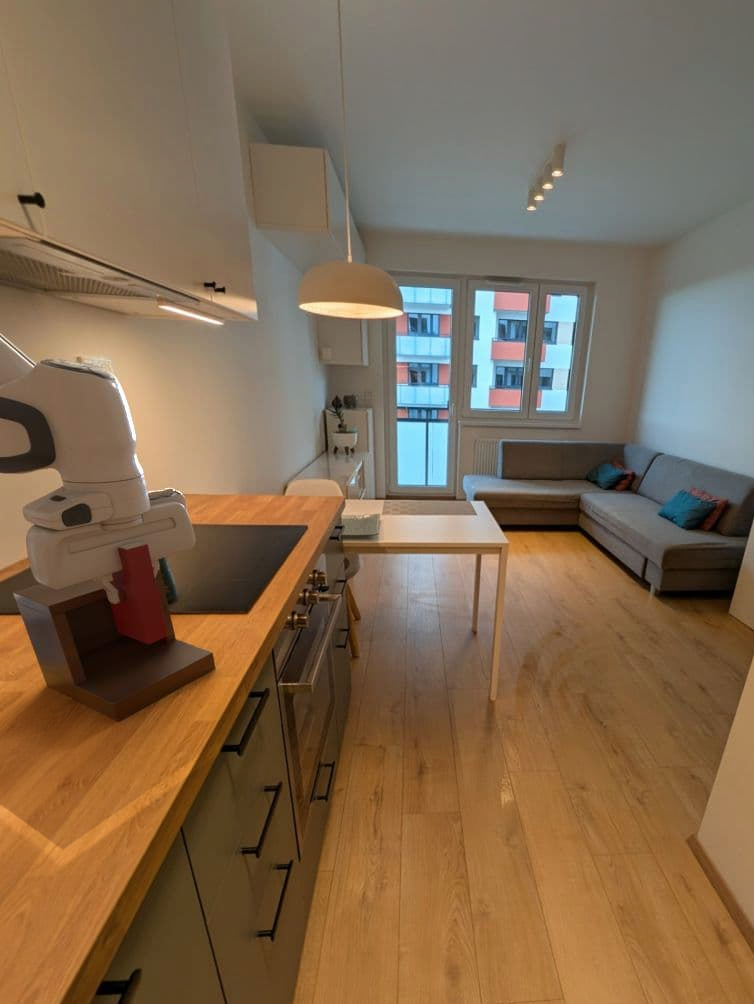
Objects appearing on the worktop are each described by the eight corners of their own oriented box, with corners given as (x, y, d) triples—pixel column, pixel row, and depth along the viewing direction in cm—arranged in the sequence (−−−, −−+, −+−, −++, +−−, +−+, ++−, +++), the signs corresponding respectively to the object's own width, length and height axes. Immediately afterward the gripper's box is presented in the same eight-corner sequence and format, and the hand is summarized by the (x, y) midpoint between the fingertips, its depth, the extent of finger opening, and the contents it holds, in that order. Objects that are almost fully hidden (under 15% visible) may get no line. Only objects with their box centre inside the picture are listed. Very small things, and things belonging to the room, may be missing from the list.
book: (117, 632, 74) (93, 539, 68) (137, 624, 77) (115, 534, 71) (148, 644, 71) (125, 549, 65) (168, 636, 74) (147, 543, 68)
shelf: (46, 685, 78) (12, 592, 71) (146, 641, 90) (125, 559, 84) (118, 722, 70) (88, 621, 64) (215, 668, 83) (198, 580, 77)
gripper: (167, 482, 75) (184, 569, 81) (5, 511, 59) (40, 617, 65) (196, 488, 73) (211, 577, 79) (35, 519, 56) (69, 629, 62)
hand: (133, 596), depth 71 cm, fingers closed on book, 3 cm apart
